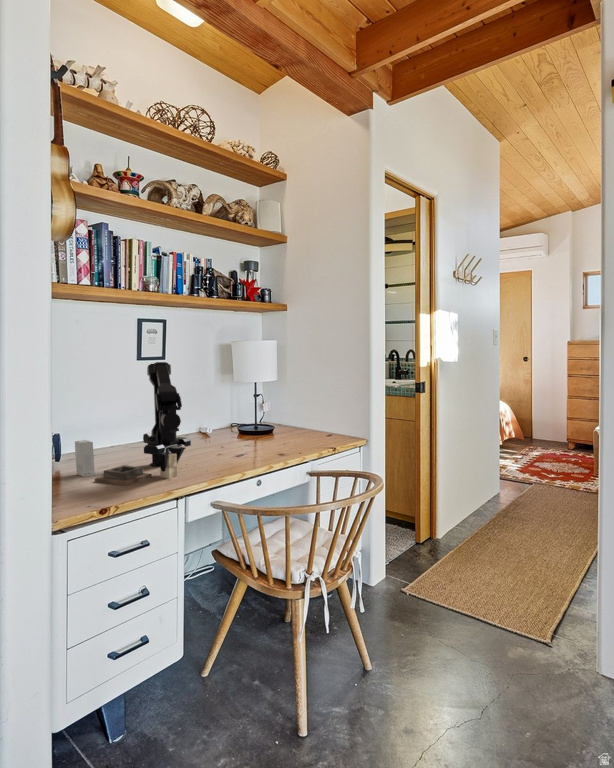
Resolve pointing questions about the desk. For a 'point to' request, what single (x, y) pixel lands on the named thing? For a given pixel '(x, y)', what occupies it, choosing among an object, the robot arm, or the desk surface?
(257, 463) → the desk surface
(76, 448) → the skincare box
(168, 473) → the maple peg
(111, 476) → the socket holder
